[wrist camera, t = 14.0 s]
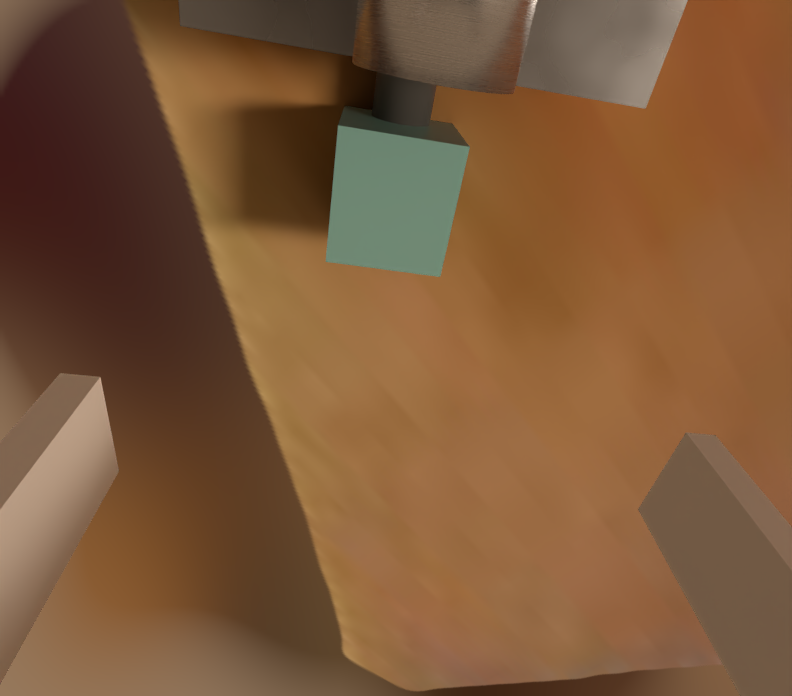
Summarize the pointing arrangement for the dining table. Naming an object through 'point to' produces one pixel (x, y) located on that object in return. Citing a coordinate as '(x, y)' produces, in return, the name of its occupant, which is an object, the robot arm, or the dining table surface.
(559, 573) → the dining table surface
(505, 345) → the dining table surface
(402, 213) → the mallet
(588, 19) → the housing
